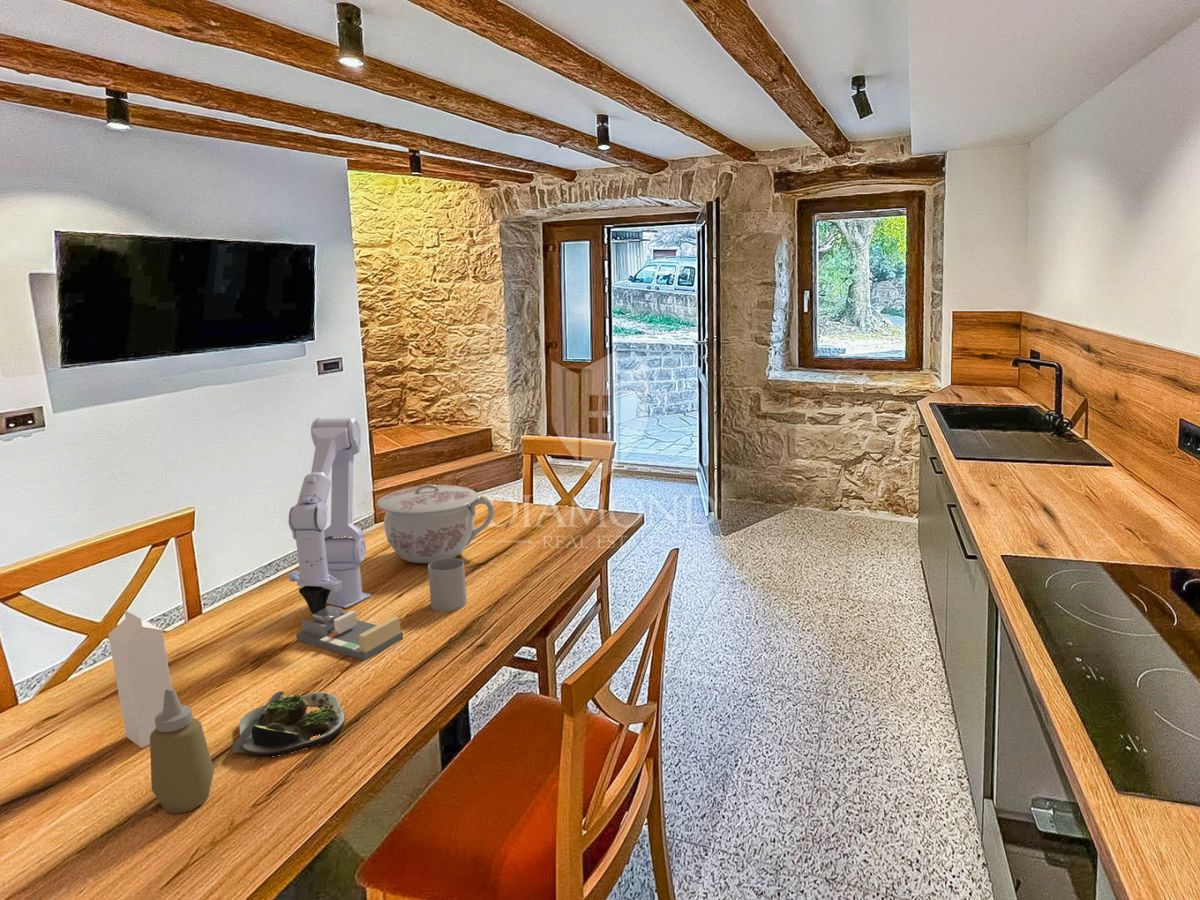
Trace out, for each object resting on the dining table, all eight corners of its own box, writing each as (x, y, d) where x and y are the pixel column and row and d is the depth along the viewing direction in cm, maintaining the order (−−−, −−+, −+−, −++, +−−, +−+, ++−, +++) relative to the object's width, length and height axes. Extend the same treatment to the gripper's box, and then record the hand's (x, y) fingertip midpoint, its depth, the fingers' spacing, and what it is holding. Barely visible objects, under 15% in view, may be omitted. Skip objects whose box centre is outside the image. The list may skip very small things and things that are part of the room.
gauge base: (296, 640, 163) (294, 618, 162) (336, 620, 173) (334, 599, 172) (364, 660, 154) (362, 637, 153) (402, 638, 163) (401, 616, 162)
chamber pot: (360, 561, 210) (353, 488, 206) (434, 534, 232) (429, 467, 228) (431, 581, 194) (425, 503, 190) (503, 550, 216) (499, 479, 212)
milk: (162, 721, 134) (144, 603, 129) (179, 732, 130) (160, 611, 126) (125, 737, 129) (104, 615, 124) (141, 749, 125) (120, 624, 121)
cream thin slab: (327, 636, 159) (326, 623, 159) (353, 623, 165) (351, 610, 165) (331, 638, 159) (330, 624, 158) (357, 624, 165) (355, 611, 164)
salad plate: (231, 712, 137) (227, 688, 136) (335, 687, 144) (332, 665, 143) (232, 771, 120) (228, 745, 119) (350, 740, 127) (347, 715, 126)
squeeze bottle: (199, 777, 118) (183, 670, 114) (228, 796, 113) (212, 685, 109) (144, 807, 111) (125, 694, 107) (173, 827, 107) (154, 711, 103)
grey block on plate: (314, 629, 164) (312, 613, 164) (332, 620, 169) (330, 605, 168) (335, 635, 161) (333, 619, 161) (353, 625, 166) (351, 610, 165)
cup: (458, 612, 175) (455, 571, 173) (425, 610, 177) (422, 569, 175) (471, 598, 183) (469, 558, 181) (439, 596, 185) (436, 557, 183)
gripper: (274, 558, 164) (281, 617, 167) (320, 569, 157) (327, 630, 160) (301, 548, 170) (307, 605, 173) (347, 558, 163) (353, 617, 166)
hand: (318, 616), depth 167 cm, fingers closed
